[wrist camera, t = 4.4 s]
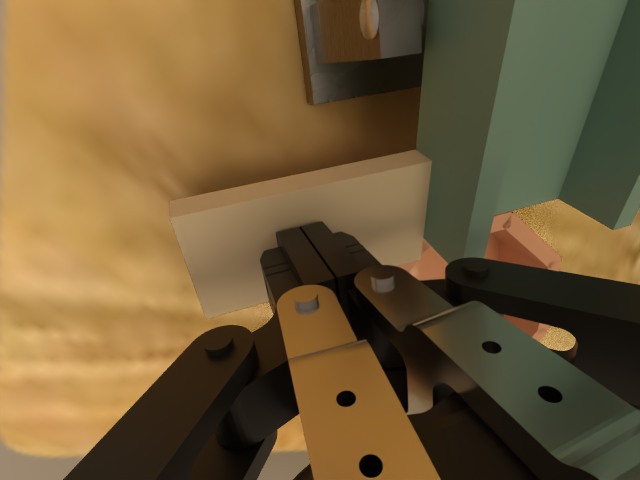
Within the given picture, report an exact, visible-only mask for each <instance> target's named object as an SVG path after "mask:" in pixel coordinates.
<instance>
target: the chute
mask: <svg viewBox="0 0 640 480" xmlns="http://www.w3.org/2000/svg"><path fill="white" fill-rule="evenodd" d="M555 199H560V200H562V201H563V202H565V203H567V204H569V205H570V206H572V207H574V208H576V209H577V210H579V211H581V212H583V213H584V214H586V215H588V216H589V217H591V218H593V219H595V220H596V221H598V222H600V223H602V224H603V225H605V226H607V227H609V228H610V229H612V230H615V229H618V228H622V227H625V226H629V225H631V223H632V221H633V219H634V217H635V215H636V213H637V211H638V210H639V208H640V0H429V4H428V16H427V27H426V39H425V50H424V62H423V74H422V85H421V97H420V108H419V120H418V131H417V143H416V150H411V151H406V152H402V153H397V154H392V155H387V156H383V157H378V158H373V159H368V160H363V161H359V162H354V163H349V164H344V165H339V166H335V167H330V168H325V169H320V170H316V171H311V172H306V173H301V174H296V175H292V176H287V177H282V178H277V179H272V180H268V181H263V182H258V183H253V184H249V185H244V186H239V187H234V188H229V189H225V190H220V191H215V192H210V193H205V194H201V195H196V196H191V197H186V198H181V199H177V200H172V201H170V221H171V224H172V226H173V229H174V232H175V235H176V237H177V240H178V243H179V246H180V248H181V251H182V254H183V257H184V259H185V262H186V265H187V268H188V270H189V273H190V276H191V278H192V281H193V284H194V287H195V289H196V292H197V295H198V298H199V300H200V303H201V306H202V309H203V311H204V314H205V317H206V319H208V318H212V317H215V316H219V315H222V314H226V313H230V312H233V311H237V310H240V309H244V308H248V307H251V306H255V305H258V304H262V303H265V302H269V299H268V294H267V290H266V286H265V281H264V277H263V272H262V268H261V263H260V258H261V256H262V253H263V251H265V250H269V249H273V248H277V247H278V244H277V239H276V232H279V231H283V230H287V229H291V228H295V227H300V226H303V225H307V224H312V223H316V222H320V221H322V222H323V223H324V224H325V225H326V226H327V227H328V228H329V229H330V230H331V232H332V233H337V232H344V233H347V234H349V235H352V236H354V237H355V238H356V239H357V240H358V241H359V242H360V244H362V245H363V246H364V247H365V248H366V250H368V251H369V252H370V253H371V254H372V255H373V256H374V257H375V258H376V259H377V260H378V261H379V262H380V263H381V264H382V265H392V266H398V265H402V264H405V263H409V262H413V261H416V260H420V259H421V253H422V244H423V238H424V239H425V240H426V241H427V242H428V243H429V244H430V245H431V246H432V247H433V249H434V250H435V251H436V252H437V253H438V254H439V255H440V256H441V257H442V258H443V259H444V260H445V261H446V262H447V263H448V264H449V263H450V262H452V261H454V260H457V259H461V258H468V257H476V258H484V256H485V252H486V248H487V244H488V240H489V236H490V232H491V227H492V223H493V219H494V215H498V214H502V213H505V212H509V211H513V210H517V209H521V208H524V207H528V206H532V205H536V204H540V203H543V202H547V201H551V200H555Z"/></svg>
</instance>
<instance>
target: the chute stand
mask: <svg viewBox="0 0 640 480" xmlns="http://www.w3.org/2000/svg"><path fill="white" fill-rule="evenodd" d="M294 4H295V11H296V19H297V26H298V34H299V41H300V49H301V56H302V64H303V71H304V79H305V86H306V93H307V101H308V103H310V104H320V103H326V102H332V101H338V100H343V99H349V98H355V97H361V96H367V95H373V94H379V93H385V92H391V91H396V90H402V89H408V88H414V87H420V86H421V85H422V74H423V62H424V50H425V39H426V27H427V16H428V4H429V0H294Z"/></svg>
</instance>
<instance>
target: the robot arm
mask: <svg viewBox="0 0 640 480" xmlns="http://www.w3.org/2000/svg"><path fill="white" fill-rule="evenodd" d="M276 239H277V244H278V247H277V248H273V249H269V250H265V251H263V253H262V256H261V258H260V263H261V268H262V272H263V277H264V281H265V286H266V290H267V294H268V299H269V303H270V305H271V308H272V311H273V314H274V315H273V317H272V318H271V319H270V321H269V322H268V323H266V324H265V325H264V326H263V327H261V328H259V329H258V330H256V331H254V332H252V333H251V332H250V331H249V330H248V329H247V328H245V327H242V326H237V325H227V326H221V327H217V328H214V329H211V330H209V331H207V332H205V333H204V334H202V335H200V336H199V337H198V338H196V339H195V340H194V341H193V342H192V343H191V344H190V345H189V346H188V348H187V349H186V350H185V351H184V352H183V353H182V354H181V355H180V356H179V357H178V358H177V359H176V360H175V361H174V362H173V363H172V365H171V366H170V367H169V368H168V369H167V370H166V371H165V372H164V373H163V374H162V375H161V376H160V377H159V378H158V379H157V380H156V382H155V383H154V384H153V385H152V386H151V387H150V388H149V389H148V390H147V391H146V392H145V393H144V394H143V395H142V396H141V397H140V399H139V400H138V401H137V402H136V403H135V404H134V405H133V406H132V407H131V408H130V409H129V410H128V411H127V412H126V413H125V414H124V416H123V417H122V418H121V419H120V420H119V421H118V422H117V423H116V424H115V425H114V426H113V427H112V428H111V429H110V430H109V431H108V433H107V434H106V435H105V436H104V437H103V438H102V439H101V440H100V441H99V442H98V443H97V444H96V445H95V446H94V447H93V448H92V450H91V451H90V452H89V453H88V454H87V455H86V456H85V457H84V458H83V459H82V460H81V461H80V462H79V463H78V464H77V465H76V467H75V468H74V469H73V470H72V471H71V472H70V473H69V474H68V475H67V476H66V477H65V478H64V479H63V480H257V478H258V476H259V474H260V472H261V470H262V468H263V466H264V464H265V462H266V460H267V458H268V456H269V454H270V452H271V450H272V448H273V446H274V444H275V442H276V439H277V429H279V428H280V427H281V426H283V425H284V424H286V423H287V422H288V421H290V420H291V419H292V418H294V417H295V416H297V415H298V414H299V413H300V418H301V422H302V427H303V432H304V436H305V441H306V445H307V450H308V455H309V459H310V464H309V465H308V466H307V467H306V468H304V469H303V470H302V471H301V472H300V473H299V474H298V475H297V476H296V477H295V478H294V479H293V480H640V285H637V284H631V283H625V282H620V281H614V280H608V279H602V278H596V277H590V276H584V275H578V274H573V273H567V272H561V271H555V270H549V269H543V268H537V267H531V266H526V265H520V264H514V263H508V262H502V261H496V260H490V259H485V258H476V257H468V258H461V259H457V260H454V261H452V262H450V263H449V264H448V265H447V266H446V268H445V279H434V280H420V281H419V280H418V279H417V278H415V277H414V276H413V275H411V274H410V273H409V272H408V271H406V270H405V269H403V268H400V267H397V266H392V265H382V264H381V263H380V262H379V261H378V260H377V259H376V258H375V257H374V256H373V255H372V254H371V253H370V252H369V251H368V250H366V248H365V247H364V246H363V245H362V244H360V242H359V241H358V240H357V239H356V238H355V237H354V236H352V235H349V234H347V233H344V232H337V233H332V232H331V230H330V229H329V228H328V227H327V226H326V225H325V224H324V223H323V222H322V221H320V222H316V223H312V224H307V225H303V226H300V227H295V228H291V229H287V230H283V231H279V232H276ZM504 315H508V316H512V317H517V318H521V319H525V320H529V321H533V322H537V323H541V324H546V325H550V326H554V327H558V328H561V329H564V330H566V331H568V332H570V333H571V334H572V335H573V336H574V337H575V338H576V342H575V345H574V347H573V348H572V349H570V350H567V351H557V350H553V349H549V348H547V347H546V346H544V345H543V344H541V343H540V342H538V341H537V340H535V339H534V338H533V337H531V336H530V335H528V334H527V333H525V332H524V331H522V330H521V329H519V328H518V327H517V326H515V325H514V324H512V323H511V322H509V321H508V320H506V319H505V318H504Z"/></svg>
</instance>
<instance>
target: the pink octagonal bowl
mask: <svg viewBox="0 0 640 480" xmlns="http://www.w3.org/2000/svg"><path fill="white" fill-rule="evenodd" d="M484 258H485V259H490V260H496V261H502V262H508V263H514V264H520V265H526V266H531V267H537V268H543V269H549V270H555V271H559V270H560V264H561V257H560V256H559V255H558V254H557V253H556V252H555V251H554V250H553V249H552V248H551V247H550V246H549V245H548V244H547V243H545V242H544V241H543V240H542V239H541V238H540V237H539V236H538V235H537V234H536V233H535V232H534V231H533V230H532V229H531V228H530V227H529V226H527V225H526V224H525V223H524V222H523V221H522V220H521V219H520V218H519V217H518V216H517V215H516V214H515V213H514V212H512V211H509V212H505V213H502V214H498V215H494V219H493V223H492V227H491V232H490V236H489V240H488V244H487V248H486V252H485V256H484ZM447 265H448V263H447V262H446V261H445V260H444V259H443V258H442V257H441V256H440V255H439V254H438V253H437V252H436V251H435V250H434V249H433V247H432V246H431V245H430V244H429V243H428V242H427V241H426V240H425V239H424V238H423V244H422V253H421V259H420V260H416V261H413V262H409V263H405V264H402V265H398V266H397V267H400V268H403V269H405V270H406V271H408V272H409V273H410V274H411V275H413V276H414V277H415V278H417V279H418V280H419V281H420V280H434V279H445V268H446V266H447ZM504 318H505V319H506V320H508V321H509V322H511V323H512V324H514V325H515V326H517V327H518V328H519V329H521V330H522V331H524V332H525V333H527V334H528V335H530V336H531V337H533V338H534V339H535V340H537V341H538V342H539V341H540V340H541V339H542V338H543V337H544V336H545V335H546V333H547V332H548V330H549V327H550V325H546V324H541V323H537V322H533V321H529V320H525V319H521V318H517V317H512V316H508V315H504Z"/></svg>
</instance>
